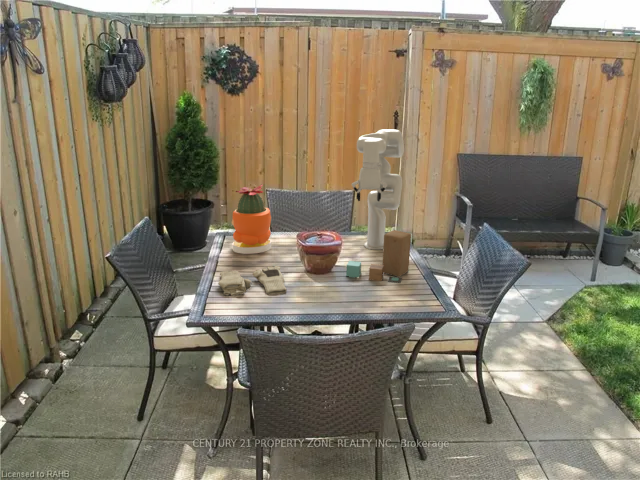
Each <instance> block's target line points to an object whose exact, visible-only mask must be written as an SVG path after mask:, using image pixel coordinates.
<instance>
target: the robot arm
mask: <svg viewBox="0 0 640 480" xmlns="http://www.w3.org/2000/svg"><path fill="white" fill-rule="evenodd" d="M356 150H357V152H358V153H361V154H362V167H361V168H360V169H359V170H360V171H359V176H358V180H356V181H354V182H352V183H351V187H352V188H353V190H354V191H355V192H356V200H357V201H358V202H360V201H361V191H362V190H371V191H369V192H368V194H367V206H368V207H367V211H368V213H367V215H368V216H367V220H368V221H367V238H366V239H367V240H366V241H365V242H364V244H363V247H364V248H366V249H368V250H374V251H376V250H377V251H379V250H383V245H384V235H385V234H386V219H387V218H386V213H385V211H384V210H394V211H395V210H397V209H398V208H399V206H400V202H401V197H402V191H403V190H402V189H403V177H402V176H401V175H400V174H397V173H391V171H392V170H391V169H392V166H391V164H390V162H389V161H388V160H387V159H386V158H399V159H400V158H402V157H403V156H404V153H405V143H404V137H403V134H402V132H401V130H399V129H379V130H377V132H375V133H374V132H372V133H369V134H364V135H361V136H359V138H358V139H357V141H356ZM385 157H386V158H385ZM356 185H358V188H357V187H356Z"/></svg>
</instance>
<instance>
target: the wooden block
mask: <svg viewBox="0 0 640 480" xmlns="http://www.w3.org/2000/svg"><path fill="white" fill-rule="evenodd" d="M411 240H412V234H411V233H410V232H405V231H400V230H397V229H393V230H390V231H389V232H385V235H384V245H383V249H382V264H381V265H384V270H383V274H387V275H391V276H393V277H400V278H401V277H402V276H403V275H405V274H406V273H408V272H409V268H410V267H409V266H410V255H411V254H410V252H411V242H412V241H411Z"/></svg>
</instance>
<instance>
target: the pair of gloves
mask: <svg viewBox="0 0 640 480" xmlns="http://www.w3.org/2000/svg"><path fill="white" fill-rule="evenodd" d="M281 269H282V268H281V265H275V266H272V265H267V267H266V268H261V269H256V270H255V271H254V272H253V273H252V275H253V277H254V278H256V279H257V281H258V282H259V283H260V284H261V285H263V287H264V289H265V292H266V294H267V295H275V294H284V293H287V292H288V290H287V288H286V286H285V284H284V283H285V279H284V276H283V274H282V272H281ZM219 275H220V278H221V279H220V280H219V281H218V286H219V287H220V288H221V289H222V291H223V295H225V296H229V295H231V297H236V296H238V295H243V294H244V293H247V288H250V287H251V285H252V284H253V282H252V280H250V279H249V278H245V277H242V276H241V274H240V271H238V270H233V271H230V270H229V271H228V270H226V271H224V270H223V271H221V272H219Z"/></svg>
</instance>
